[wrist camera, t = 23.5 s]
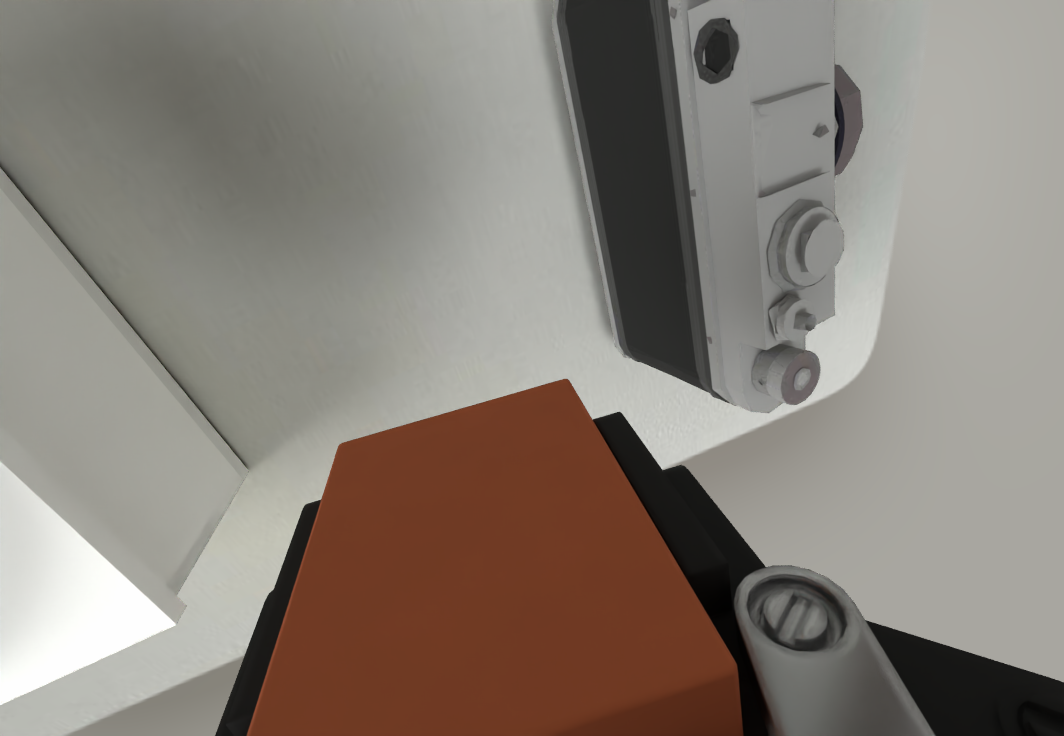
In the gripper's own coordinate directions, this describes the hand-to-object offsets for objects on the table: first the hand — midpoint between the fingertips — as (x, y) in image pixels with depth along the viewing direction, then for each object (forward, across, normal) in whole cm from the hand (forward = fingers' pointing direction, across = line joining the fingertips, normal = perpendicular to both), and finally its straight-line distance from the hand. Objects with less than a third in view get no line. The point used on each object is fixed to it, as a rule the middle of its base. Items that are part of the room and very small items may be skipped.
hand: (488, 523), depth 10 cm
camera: (+15, -11, -3) cm, 19 cm away
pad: (+1, 0, 0) cm, 1 cm away
